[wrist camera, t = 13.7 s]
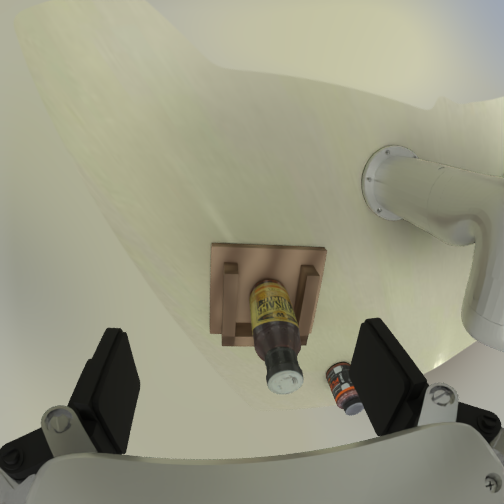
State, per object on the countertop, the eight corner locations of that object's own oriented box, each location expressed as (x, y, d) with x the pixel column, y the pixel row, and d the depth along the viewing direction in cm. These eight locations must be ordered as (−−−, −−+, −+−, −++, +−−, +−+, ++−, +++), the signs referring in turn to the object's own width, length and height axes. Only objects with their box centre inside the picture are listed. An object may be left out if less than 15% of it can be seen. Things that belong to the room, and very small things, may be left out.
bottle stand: (324, 247, 49) (335, 260, 43) (308, 328, 54) (316, 346, 49) (211, 242, 46) (210, 256, 41) (210, 328, 52) (209, 348, 47)
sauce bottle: (289, 279, 48) (326, 363, 30) (282, 311, 51) (310, 400, 32) (249, 275, 47) (266, 362, 29) (243, 308, 50) (256, 400, 31)
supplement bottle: (327, 363, 58) (344, 402, 48) (353, 359, 59) (373, 396, 48) (323, 382, 61) (338, 421, 50) (348, 378, 61) (365, 415, 51)
